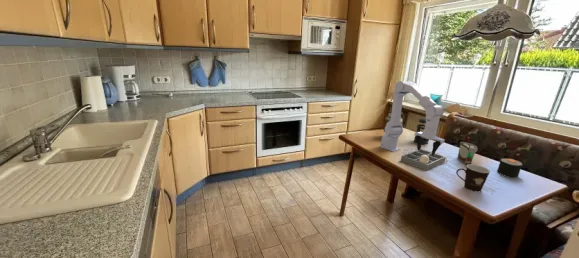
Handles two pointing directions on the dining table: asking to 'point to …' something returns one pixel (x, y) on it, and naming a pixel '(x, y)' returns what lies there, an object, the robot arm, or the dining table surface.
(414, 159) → the grey compartment tray
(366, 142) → the dining table surface
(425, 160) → the egg
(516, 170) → the sushi
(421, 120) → the french press
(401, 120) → the apothecary jar
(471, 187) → the coffee mug
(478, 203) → the dining table surface
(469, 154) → the food container
